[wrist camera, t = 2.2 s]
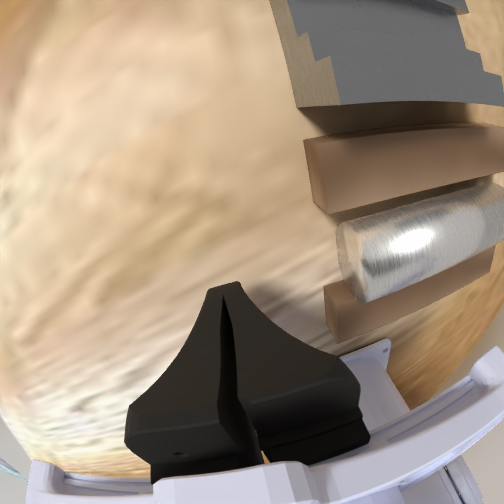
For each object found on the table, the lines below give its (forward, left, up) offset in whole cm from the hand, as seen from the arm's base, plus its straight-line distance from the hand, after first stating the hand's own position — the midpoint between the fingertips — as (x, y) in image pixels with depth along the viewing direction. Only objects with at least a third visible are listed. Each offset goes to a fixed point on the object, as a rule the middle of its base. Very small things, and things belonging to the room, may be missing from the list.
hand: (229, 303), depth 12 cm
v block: (+11, -10, -2) cm, 15 cm away
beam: (0, -12, -2) cm, 12 cm away
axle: (0, -12, -1) cm, 12 cm away
